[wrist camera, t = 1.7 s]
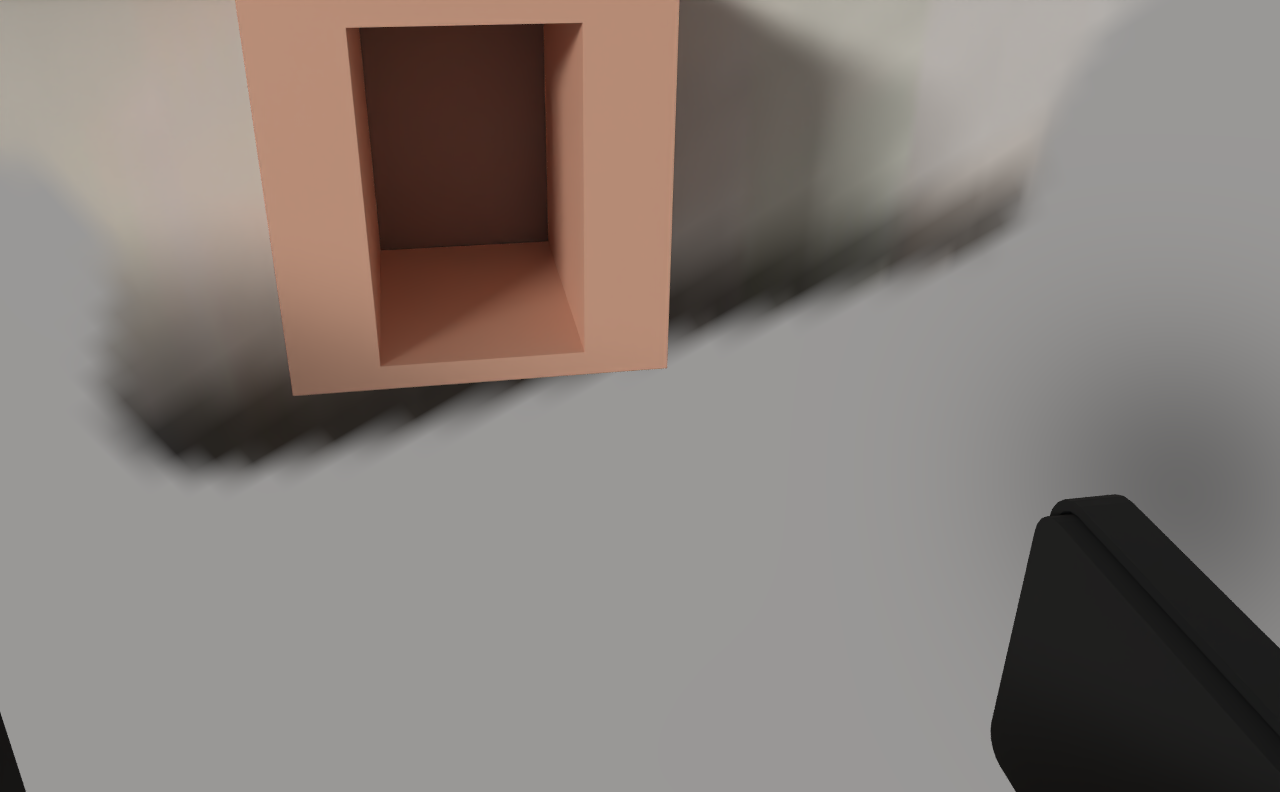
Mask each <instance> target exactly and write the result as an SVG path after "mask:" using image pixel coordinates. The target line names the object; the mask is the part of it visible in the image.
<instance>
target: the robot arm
mask: <svg viewBox="0 0 1280 792" xmlns="http://www.w3.org/2000/svg"><path fill="white" fill-rule="evenodd" d="M991 741H992V746H993V750H994V753H995V756H996V759H997V761H998V763H999V765H1000V767H1001V768H1002V770H1003V771H1004V773H1005V775H1006V776H1007V778H1008V780H1009V781H1010V783H1011V785H1012V786H1013V788H1014V789H1015V791H1016V792H1280V648H1279V647H1278V646H1277V645H1276V644H1275V643H1274V642H1273V641H1272V640H1271V639H1270V638H1269V637H1267V635H1265V633H1263V632H1262V631H1261V630H1260V629H1259V628H1258V627H1257V626H1256V625H1255V624H1254V623H1253V622H1252V621H1251V620H1250V619H1249V618H1248V617H1247V616H1246V615H1245V614H1244V613H1243V612H1242V611H1241V610H1240V609H1239V608H1238V607H1237V606H1236V605H1235V604H1234V603H1233V602H1232V601H1231V600H1230V599H1229V598H1228V597H1227V596H1226V595H1225V594H1224V593H1223V592H1222V591H1221V590H1220V589H1219V588H1218V587H1217V586H1216V585H1215V584H1214V583H1213V582H1212V581H1211V580H1210V579H1209V578H1208V577H1207V576H1206V575H1205V574H1204V573H1203V572H1202V571H1201V570H1200V569H1199V568H1198V567H1197V566H1196V565H1195V564H1194V563H1193V562H1192V561H1191V560H1190V559H1189V558H1188V557H1187V556H1186V555H1185V554H1184V553H1183V552H1182V551H1181V550H1180V549H1179V548H1178V547H1177V546H1176V545H1175V544H1174V543H1173V542H1172V541H1171V540H1170V539H1169V538H1168V537H1167V536H1165V534H1164V533H1163V532H1162V531H1161V530H1160V529H1159V528H1158V527H1157V526H1156V525H1155V524H1154V523H1153V522H1152V521H1151V520H1150V519H1149V518H1148V517H1147V516H1145V514H1144V513H1143V512H1142V511H1141V510H1139V509H1138V508H1137V507H1136V506H1135V505H1134V504H1133V503H1132V502H1131V501H1130V500H1128V499H1127V498H1126V497H1124V496H1121V495H1104V496H1095V497H1085V498H1075V499H1065V500H1062V501H1060V502H1058V503H1057V504H1056V505H1055V506H1054V508H1053V509H1052V511H1051V514H1050V516H1047V517H1044V518H1042V519H1041V520H1040V521H1039V522H1038V524H1037V526H1036V529H1035V533H1034V537H1033V541H1032V546H1031V551H1030V555H1029V559H1028V563H1027V568H1026V573H1025V577H1024V581H1023V586H1022V590H1021V594H1020V599H1019V603H1018V608H1017V612H1016V617H1015V621H1014V625H1013V630H1012V634H1011V639H1010V643H1009V647H1008V652H1007V656H1006V661H1005V665H1004V670H1003V674H1002V678H1001V683H1000V687H999V692H998V696H997V700H996V705H995V710H994V713H993V718H992V722H991ZM0 792H26V791H25V788H24V785H23V781H22V778H21V775H20V773H19V769H18V766H17V763H16V760H15V757H14V754H13V750H12V748H11V744H10V741H9V738H8V735H7V732H6V729H5V726H4V723H3V720H2V717H1V713H0Z"/></svg>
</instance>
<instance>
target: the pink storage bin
mask: <svg viewBox="0 0 1280 792" xmlns="http://www.w3.org/2000/svg"><path fill="white" fill-rule="evenodd" d="M235 2H236V9H237V16H238V23H239V30H240V37H241V43H242V50H243V57H244V64H245V71H246V78H247V84H248V91H249V98H250V105H251V112H252V119H253V125H254V132H255V139H256V146H257V153H258V160H259V167H260V173H261V180H262V187H263V194H264V201H265V208H266V214H267V221H268V228H269V235H270V242H271V249H272V255H273V262H274V269H275V276H276V283H277V290H278V296H279V303H280V310H281V317H282V324H283V331H284V337H285V344H286V351H287V358H288V365H289V372H290V378H291V385H292V392H293V396H299V395H312V394H326V393H339V392H353V391H366V390H379V389H393V388H406V387H420V386H433V385H447V384H460V383H474V382H487V381H501V380H514V379H527V378H541V377H554V376H568V375H581V374H595V373H608V372H622V371H635V370H649V369H662V368H667V355H668V325H669V295H670V265H671V236H672V206H673V176H674V146H675V116H676V87H677V57H678V27H679V0H235ZM498 24H543V27H544V73H545V119H546V165H547V211H548V241H544V242H525V243H507V244H488V245H470V246H451V247H433V248H414V249H395V250H381V247H380V237H379V226H378V216H377V206H376V195H375V185H374V175H373V165H372V154H371V144H370V134H369V123H368V113H367V103H366V92H365V82H364V72H363V62H362V51H361V41H360V31H359V27H404V26H451V25H498Z"/></svg>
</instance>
